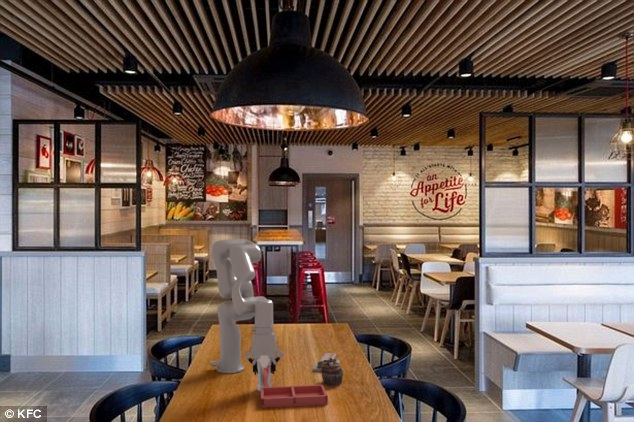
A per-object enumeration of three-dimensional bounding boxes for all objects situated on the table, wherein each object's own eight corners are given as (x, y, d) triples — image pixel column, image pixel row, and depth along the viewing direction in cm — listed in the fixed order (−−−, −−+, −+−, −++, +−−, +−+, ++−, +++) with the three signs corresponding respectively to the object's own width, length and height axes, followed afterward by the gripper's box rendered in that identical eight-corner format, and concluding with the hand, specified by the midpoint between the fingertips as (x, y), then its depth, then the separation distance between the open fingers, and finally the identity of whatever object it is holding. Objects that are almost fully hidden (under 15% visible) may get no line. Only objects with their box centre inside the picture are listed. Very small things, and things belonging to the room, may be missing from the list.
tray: (261, 407, 195) (261, 399, 195) (260, 395, 208) (260, 387, 208) (327, 404, 198) (327, 396, 198) (323, 392, 211) (323, 384, 211)
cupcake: (336, 387, 217) (336, 363, 217) (316, 383, 222) (316, 360, 222) (347, 381, 225) (347, 358, 225) (328, 377, 230) (328, 354, 230)
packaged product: (320, 351, 256) (340, 352, 254) (320, 361, 257) (340, 362, 254) (312, 361, 239) (334, 362, 237) (312, 372, 239) (334, 373, 237)
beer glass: (259, 393, 210) (259, 356, 210) (253, 388, 216) (253, 352, 216) (275, 390, 213) (275, 354, 213) (268, 385, 219) (268, 350, 219)
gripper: (242, 332, 210) (242, 377, 210) (285, 331, 212) (285, 375, 212) (242, 328, 217) (243, 371, 217) (284, 327, 219) (284, 369, 219)
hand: (264, 373), depth 215 cm, fingers closed on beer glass, 6 cm apart
